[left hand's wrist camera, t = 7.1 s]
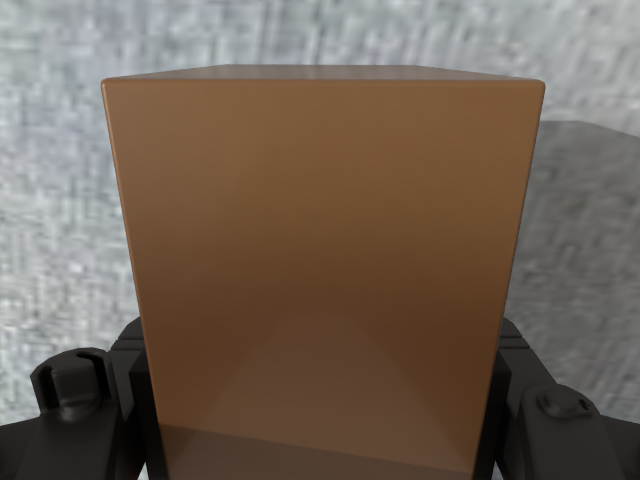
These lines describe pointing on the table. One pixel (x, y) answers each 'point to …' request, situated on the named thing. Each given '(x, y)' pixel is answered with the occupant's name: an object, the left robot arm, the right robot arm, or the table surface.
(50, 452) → the left robot arm
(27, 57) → the table surface
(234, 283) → the post
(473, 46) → the table surface
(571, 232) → the table surface
